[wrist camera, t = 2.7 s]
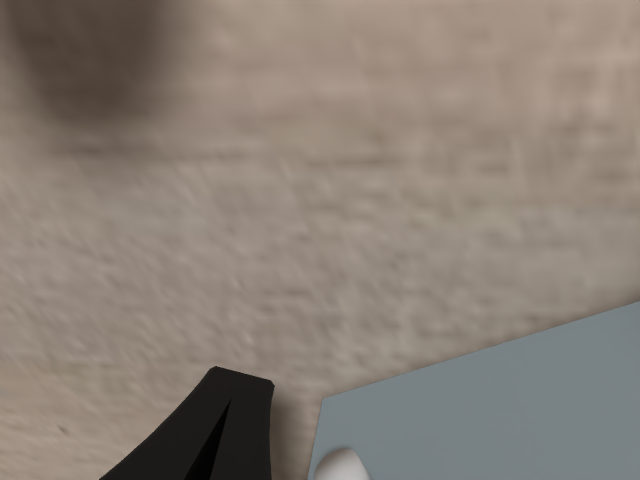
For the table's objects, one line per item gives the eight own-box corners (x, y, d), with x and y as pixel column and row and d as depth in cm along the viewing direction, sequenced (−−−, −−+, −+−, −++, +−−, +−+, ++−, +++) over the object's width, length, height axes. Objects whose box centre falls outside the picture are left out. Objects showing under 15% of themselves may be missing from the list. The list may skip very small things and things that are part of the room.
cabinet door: (339, 425, 19) (309, 630, 13) (307, 375, 18) (262, 571, 12) (920, 258, 14) (1269, 476, 8) (911, 179, 13) (1289, 359, 7)
